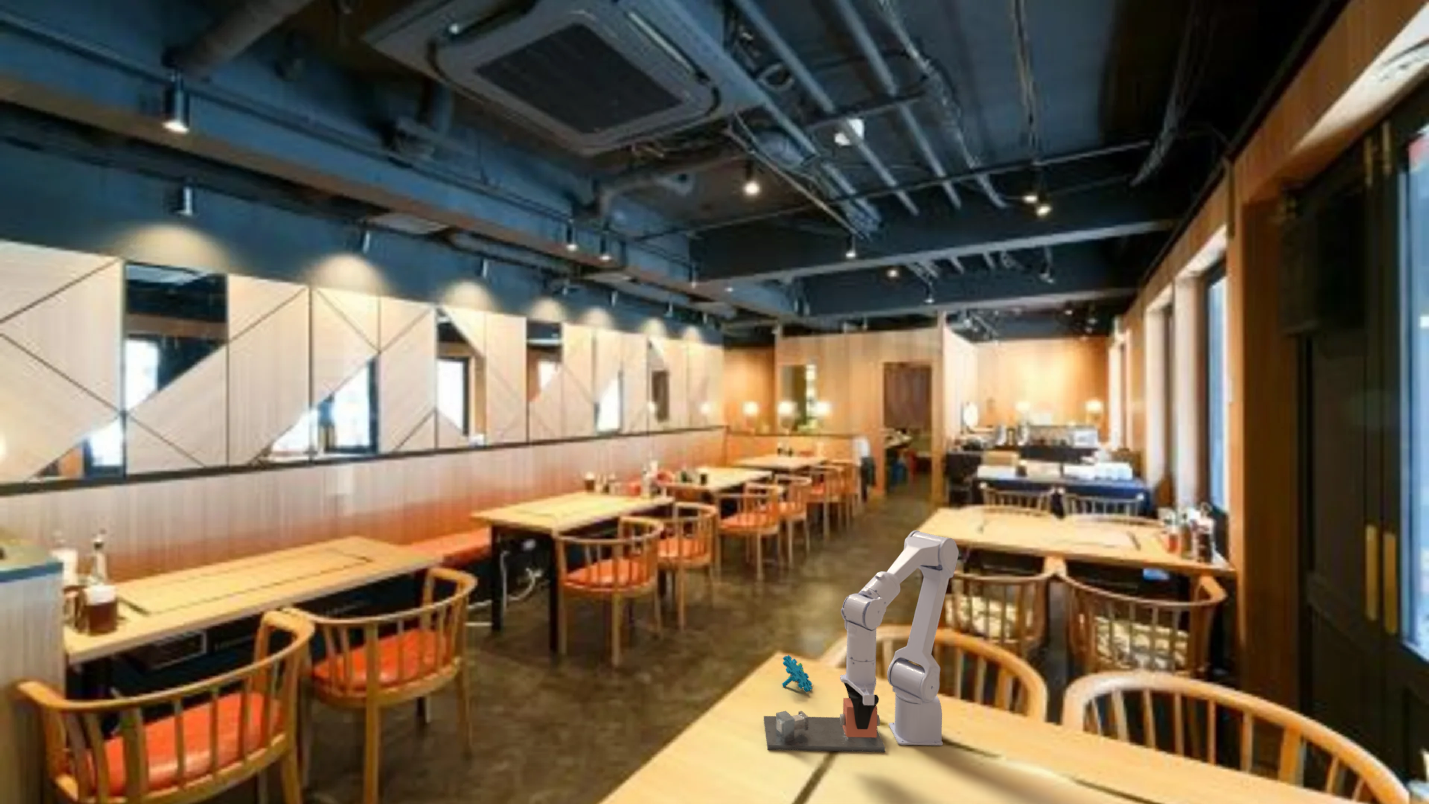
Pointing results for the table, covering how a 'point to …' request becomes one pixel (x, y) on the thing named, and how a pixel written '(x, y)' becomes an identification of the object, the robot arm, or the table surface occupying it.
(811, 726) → the stand
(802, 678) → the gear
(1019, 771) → the table surface
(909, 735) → the robot arm
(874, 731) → the block
